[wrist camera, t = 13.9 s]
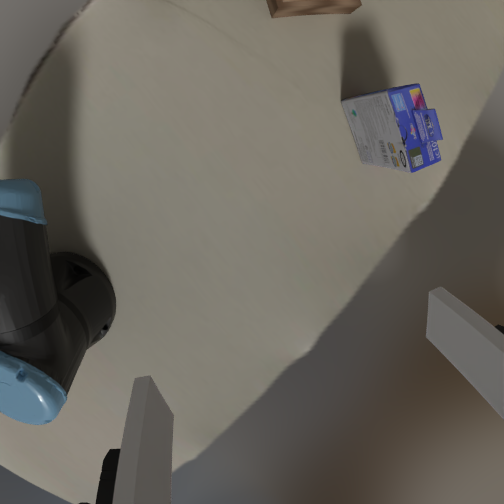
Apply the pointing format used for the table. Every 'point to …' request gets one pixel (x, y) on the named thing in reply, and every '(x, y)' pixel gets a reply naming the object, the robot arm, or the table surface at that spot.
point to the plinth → (311, 7)
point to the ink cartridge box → (394, 128)
